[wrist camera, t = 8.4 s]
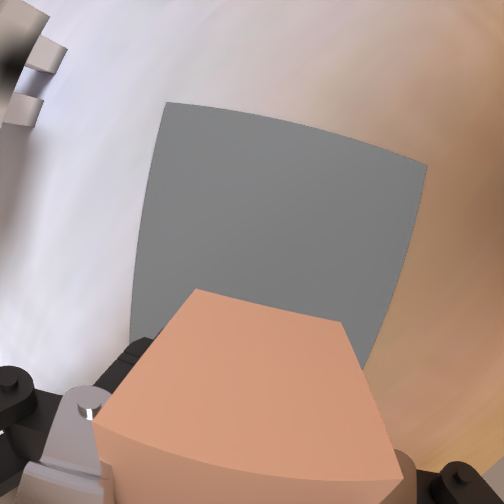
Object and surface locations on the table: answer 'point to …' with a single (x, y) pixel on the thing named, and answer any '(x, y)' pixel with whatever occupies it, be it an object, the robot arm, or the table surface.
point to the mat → (272, 221)
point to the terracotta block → (246, 413)
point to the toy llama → (23, 58)
